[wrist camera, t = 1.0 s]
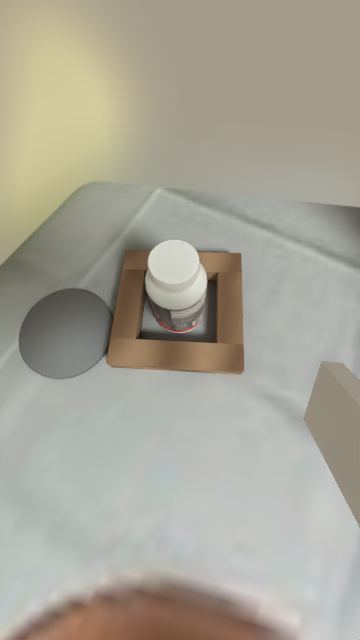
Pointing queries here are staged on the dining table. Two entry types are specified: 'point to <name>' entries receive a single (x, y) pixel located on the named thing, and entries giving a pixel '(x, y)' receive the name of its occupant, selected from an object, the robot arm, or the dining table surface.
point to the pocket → (179, 354)
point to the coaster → (65, 334)
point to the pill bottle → (176, 285)
